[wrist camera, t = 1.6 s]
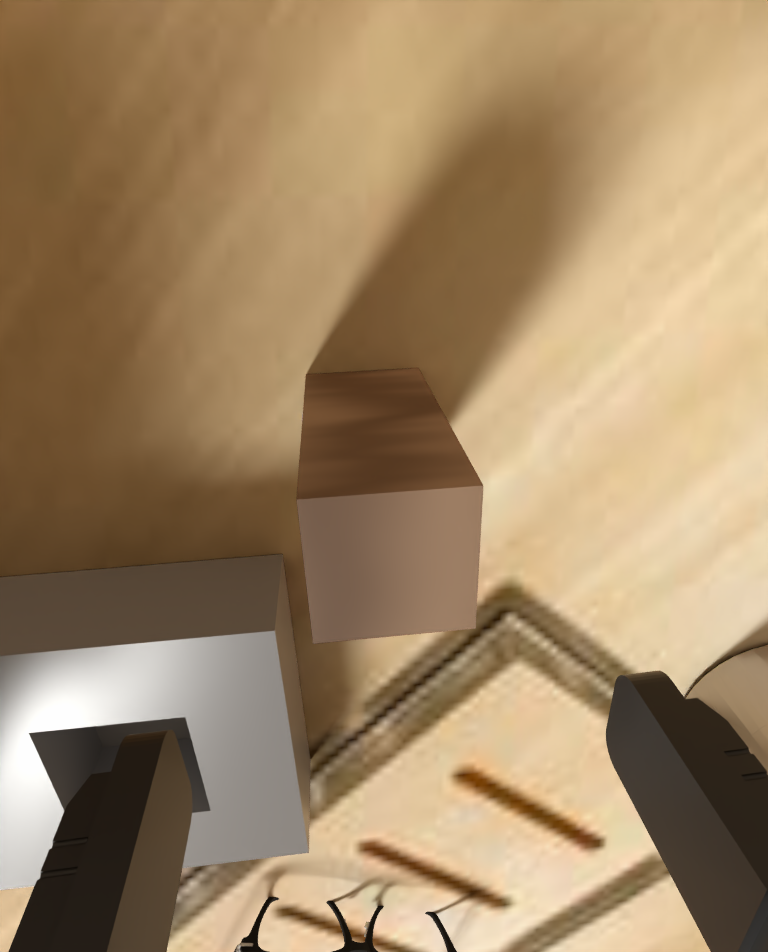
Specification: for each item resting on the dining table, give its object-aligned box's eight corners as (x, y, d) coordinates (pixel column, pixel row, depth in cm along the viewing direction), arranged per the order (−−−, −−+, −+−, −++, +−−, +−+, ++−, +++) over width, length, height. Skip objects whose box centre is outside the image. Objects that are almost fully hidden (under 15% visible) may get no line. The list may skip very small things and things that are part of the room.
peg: (418, 368, 22) (483, 485, 13) (418, 468, 24) (475, 628, 15) (306, 374, 22) (296, 499, 13) (315, 475, 24) (312, 643, 15)
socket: (282, 553, 26) (274, 630, 21) (310, 760, 32) (308, 852, 27) (-143, 588, 24) (-248, 678, 20) (-26, 797, 31) (-85, 900, 26)
